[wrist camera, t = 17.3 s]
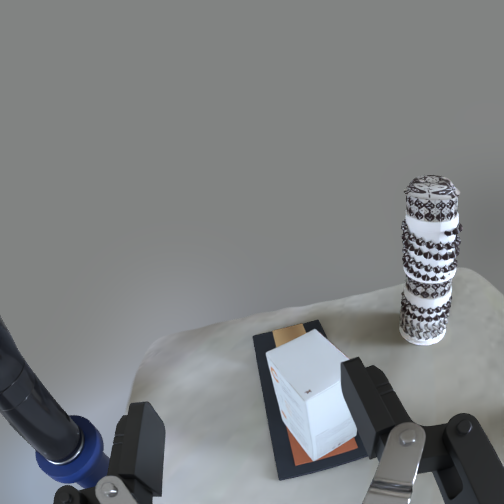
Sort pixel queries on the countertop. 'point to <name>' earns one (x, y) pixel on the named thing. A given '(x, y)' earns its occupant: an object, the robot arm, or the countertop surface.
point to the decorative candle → (428, 257)
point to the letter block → (288, 334)
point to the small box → (312, 393)
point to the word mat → (284, 443)
